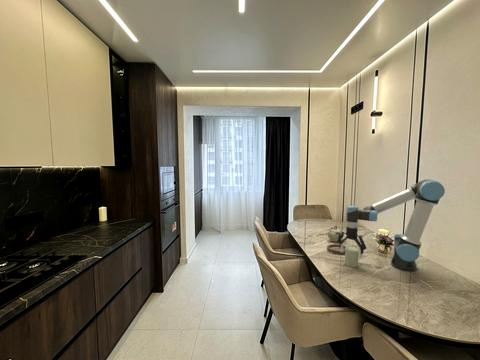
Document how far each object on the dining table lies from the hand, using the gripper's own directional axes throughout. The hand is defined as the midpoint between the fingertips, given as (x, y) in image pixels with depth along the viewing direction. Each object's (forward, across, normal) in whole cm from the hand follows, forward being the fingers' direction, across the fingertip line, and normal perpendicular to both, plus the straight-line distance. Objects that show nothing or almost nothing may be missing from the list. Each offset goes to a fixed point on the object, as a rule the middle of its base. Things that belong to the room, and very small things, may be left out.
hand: (350, 254), depth 166 cm
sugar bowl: (+8, +33, -41) cm, 54 cm away
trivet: (+7, +19, -18) cm, 28 cm away
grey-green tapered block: (+7, -1, 0) cm, 7 cm away
